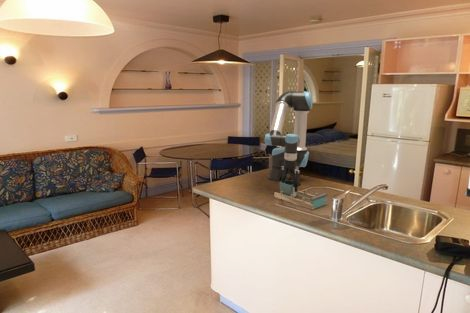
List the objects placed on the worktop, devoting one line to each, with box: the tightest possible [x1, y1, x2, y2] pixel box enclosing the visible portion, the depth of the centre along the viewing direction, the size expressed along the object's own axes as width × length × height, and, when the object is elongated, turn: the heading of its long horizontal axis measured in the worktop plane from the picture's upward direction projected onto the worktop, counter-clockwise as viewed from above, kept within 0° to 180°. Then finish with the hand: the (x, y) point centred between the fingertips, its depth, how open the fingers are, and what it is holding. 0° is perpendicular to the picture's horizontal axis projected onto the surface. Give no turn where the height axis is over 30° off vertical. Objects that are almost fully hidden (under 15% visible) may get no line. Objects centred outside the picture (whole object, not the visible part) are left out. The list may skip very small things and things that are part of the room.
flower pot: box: [278, 179, 294, 197], centre depth 209 cm, size 9×9×9 cm
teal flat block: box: [309, 192, 329, 210], centre depth 193 cm, size 15×2×6 cm, turn 133°
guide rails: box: [273, 189, 328, 210], centre depth 203 cm, size 15×28×5 cm, turn 43°
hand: (288, 194), depth 210 cm, fingers closed on flower pot, 9 cm apart
